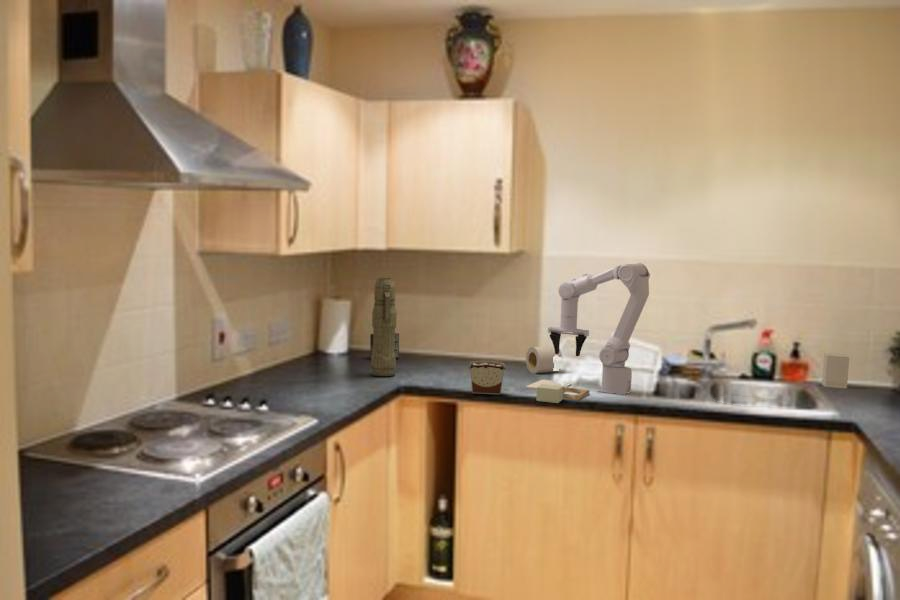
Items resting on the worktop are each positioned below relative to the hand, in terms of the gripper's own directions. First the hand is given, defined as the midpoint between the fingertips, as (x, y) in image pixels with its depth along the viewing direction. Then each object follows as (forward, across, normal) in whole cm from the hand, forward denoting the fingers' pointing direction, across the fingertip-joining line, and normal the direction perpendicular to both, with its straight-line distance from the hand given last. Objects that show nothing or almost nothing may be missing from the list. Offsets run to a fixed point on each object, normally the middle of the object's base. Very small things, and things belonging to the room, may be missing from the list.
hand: (567, 354), depth 276 cm
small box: (+11, +80, -5) cm, 81 cm away
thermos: (+11, +62, +23) cm, 67 cm away
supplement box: (+11, -83, -49) cm, 97 cm away
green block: (+8, -8, +28) cm, 30 cm away
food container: (+11, +17, +29) cm, 35 cm away
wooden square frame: (+10, -8, +18) cm, 22 cm away
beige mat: (+10, +3, +9) cm, 14 cm away
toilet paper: (+11, +15, -16) cm, 24 cm away
